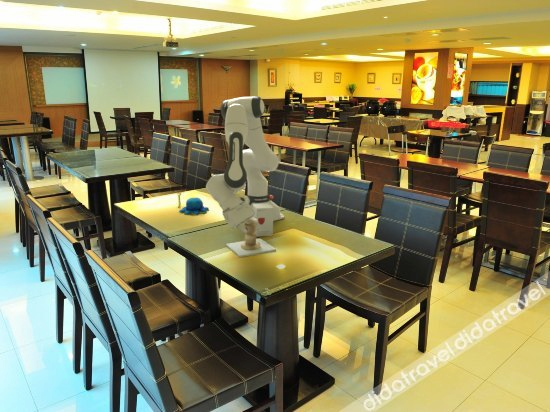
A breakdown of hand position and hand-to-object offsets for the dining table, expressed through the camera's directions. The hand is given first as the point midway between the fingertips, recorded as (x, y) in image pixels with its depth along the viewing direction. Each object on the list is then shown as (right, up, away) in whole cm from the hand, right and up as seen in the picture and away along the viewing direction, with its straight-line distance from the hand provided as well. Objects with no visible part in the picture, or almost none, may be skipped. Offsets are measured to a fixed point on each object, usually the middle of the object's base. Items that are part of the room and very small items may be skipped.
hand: (251, 228), depth 192 cm
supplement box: (+5, -4, +23) cm, 23 cm away
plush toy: (-38, +7, +60) cm, 71 cm away
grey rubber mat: (0, -9, +2) cm, 9 cm away
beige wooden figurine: (0, -8, +2) cm, 9 cm away
